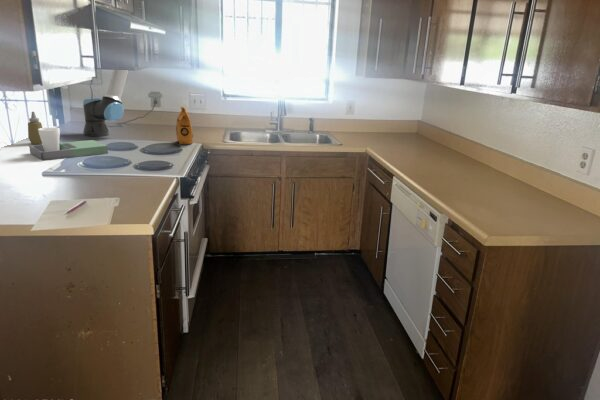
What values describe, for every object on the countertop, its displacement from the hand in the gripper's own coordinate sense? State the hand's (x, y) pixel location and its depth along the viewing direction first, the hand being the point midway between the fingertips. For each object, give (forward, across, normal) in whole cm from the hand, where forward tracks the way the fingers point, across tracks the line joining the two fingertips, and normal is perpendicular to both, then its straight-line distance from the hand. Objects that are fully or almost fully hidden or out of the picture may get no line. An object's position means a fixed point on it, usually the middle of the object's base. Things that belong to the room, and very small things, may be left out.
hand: (60, 87), depth 237 cm
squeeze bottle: (+32, -9, -13) cm, 36 cm away
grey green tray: (+32, +24, -7) cm, 40 cm away
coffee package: (+32, +29, +59) cm, 73 cm away
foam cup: (+31, +24, -16) cm, 42 cm away
